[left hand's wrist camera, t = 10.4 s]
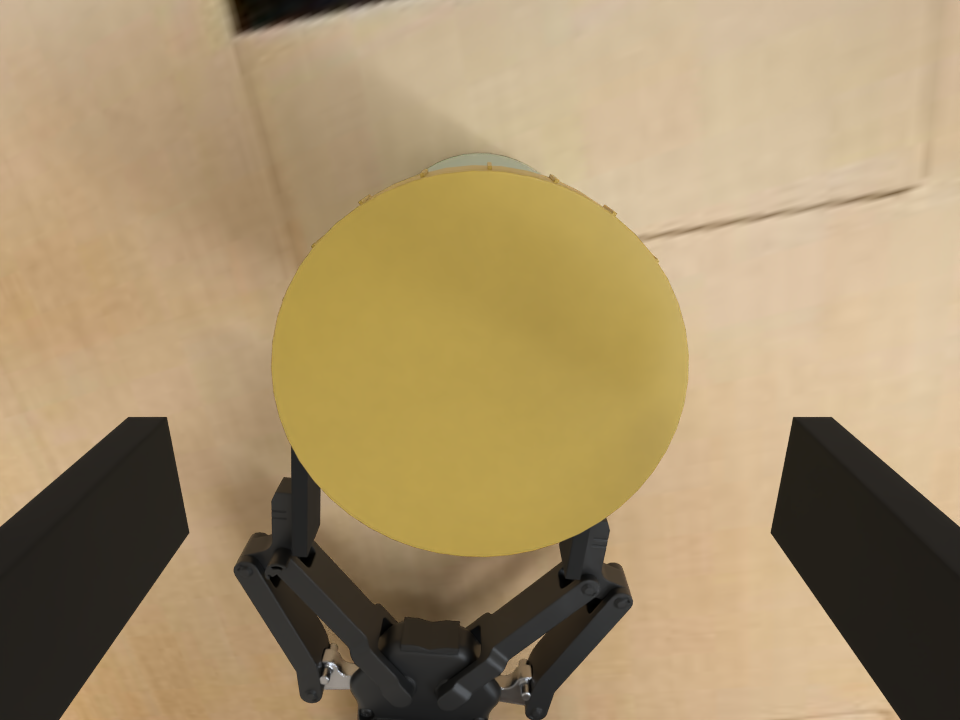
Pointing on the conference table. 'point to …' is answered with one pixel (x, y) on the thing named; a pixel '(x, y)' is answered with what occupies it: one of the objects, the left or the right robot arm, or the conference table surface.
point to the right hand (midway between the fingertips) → (449, 438)
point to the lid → (479, 362)
